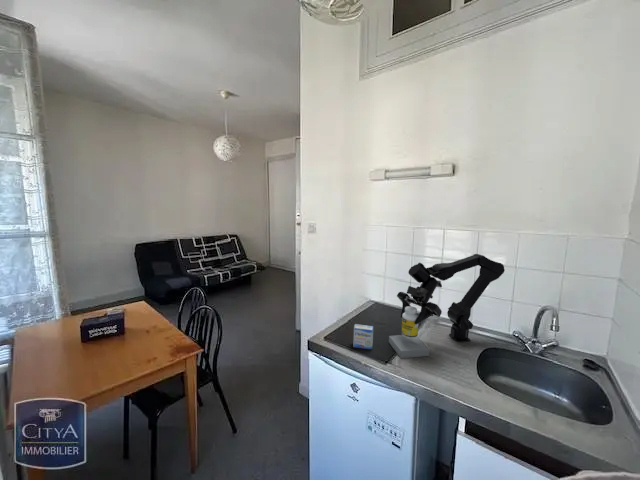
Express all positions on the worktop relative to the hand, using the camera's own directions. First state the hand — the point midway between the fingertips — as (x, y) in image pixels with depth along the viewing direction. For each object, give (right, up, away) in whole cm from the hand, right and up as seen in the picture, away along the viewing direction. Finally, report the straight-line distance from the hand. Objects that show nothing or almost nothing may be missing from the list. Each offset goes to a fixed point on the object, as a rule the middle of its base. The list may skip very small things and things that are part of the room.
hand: (408, 320), depth 114 cm
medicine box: (-18, -12, +5) cm, 22 cm away
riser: (+1, -13, +3) cm, 13 cm away
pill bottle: (+1, -7, +2) cm, 7 cm away
